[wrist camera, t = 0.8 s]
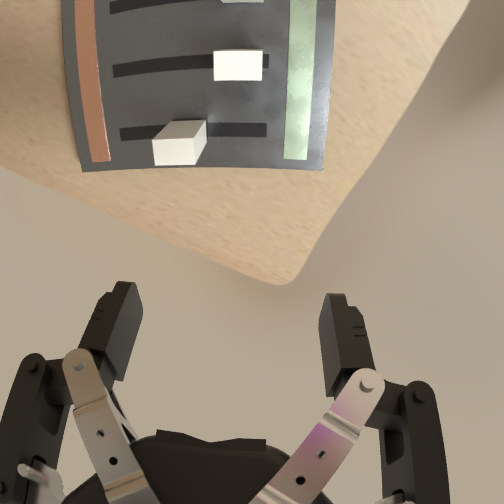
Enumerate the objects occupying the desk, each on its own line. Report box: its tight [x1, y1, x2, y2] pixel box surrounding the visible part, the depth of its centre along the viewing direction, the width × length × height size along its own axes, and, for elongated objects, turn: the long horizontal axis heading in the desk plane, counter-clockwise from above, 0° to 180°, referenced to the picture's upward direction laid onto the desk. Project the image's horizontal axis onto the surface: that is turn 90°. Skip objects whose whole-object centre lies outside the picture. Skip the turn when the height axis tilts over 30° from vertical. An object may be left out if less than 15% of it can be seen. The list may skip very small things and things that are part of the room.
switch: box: [152, 120, 207, 166], centre depth 23 cm, size 2×3×5 cm, turn 89°
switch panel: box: [62, 0, 336, 172], centre depth 22 cm, size 19×23×2 cm
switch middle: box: [214, 49, 263, 81], centre depth 19 cm, size 2×3×5 cm, turn 89°
